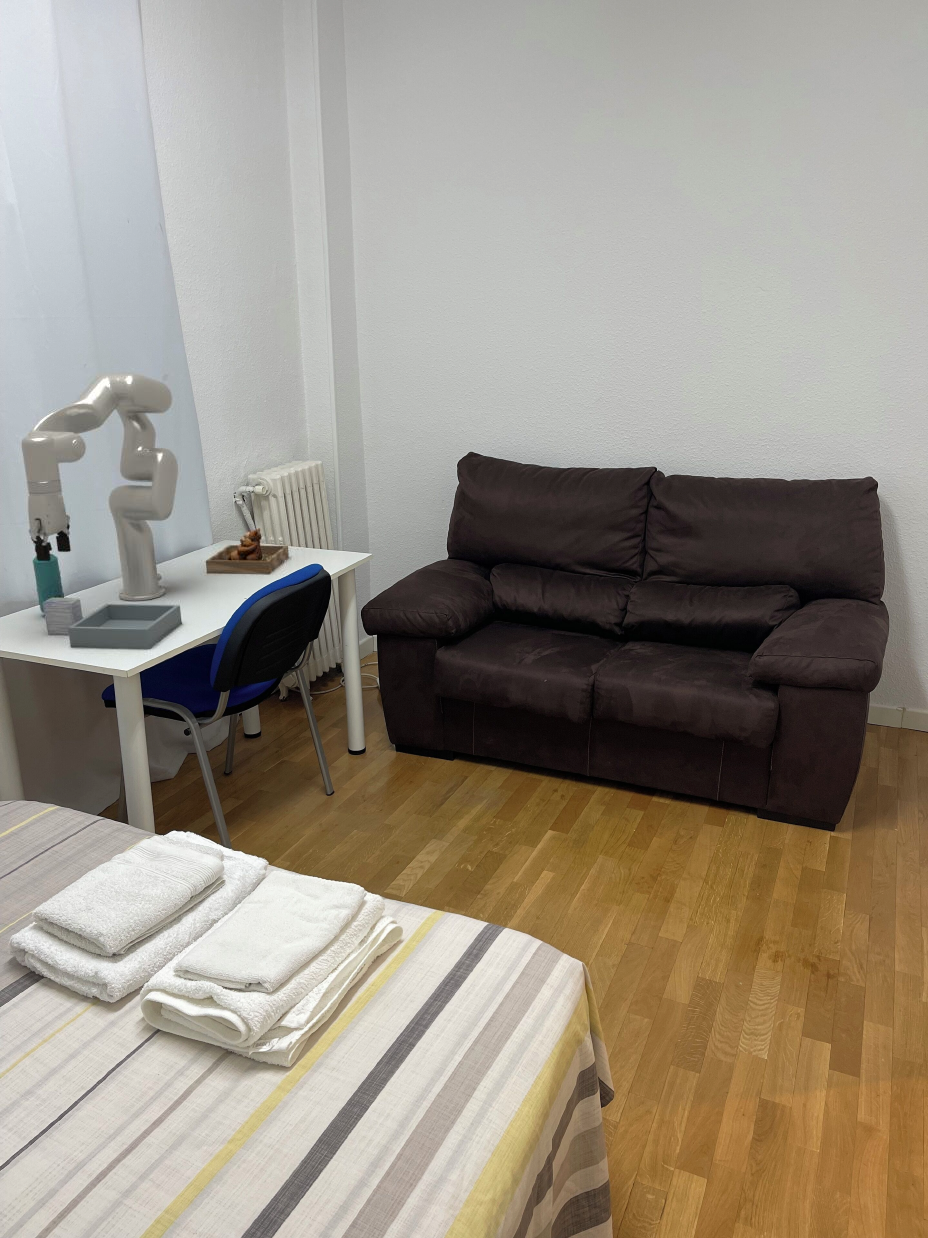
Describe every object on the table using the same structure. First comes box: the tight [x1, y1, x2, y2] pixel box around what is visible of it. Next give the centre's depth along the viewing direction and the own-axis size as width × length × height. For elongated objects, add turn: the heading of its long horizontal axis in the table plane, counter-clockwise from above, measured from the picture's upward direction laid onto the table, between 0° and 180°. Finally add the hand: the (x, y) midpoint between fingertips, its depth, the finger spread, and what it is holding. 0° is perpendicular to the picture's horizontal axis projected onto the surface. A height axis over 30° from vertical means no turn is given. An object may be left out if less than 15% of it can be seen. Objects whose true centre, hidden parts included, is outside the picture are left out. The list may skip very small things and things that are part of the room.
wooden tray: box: [205, 544, 290, 575], centre depth 308 cm, size 21×20×4 cm
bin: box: [68, 603, 183, 650], centre depth 242 cm, size 20×20×5 cm
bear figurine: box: [227, 528, 271, 561], centre depth 305 cm, size 14×15×12 cm
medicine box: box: [43, 597, 84, 636], centre depth 244 cm, size 8×4×9 cm, turn 80°
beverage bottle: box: [32, 541, 65, 614], centre depth 257 cm, size 6×7×20 cm
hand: (54, 556), depth 239 cm, fingers open, 9 cm apart
